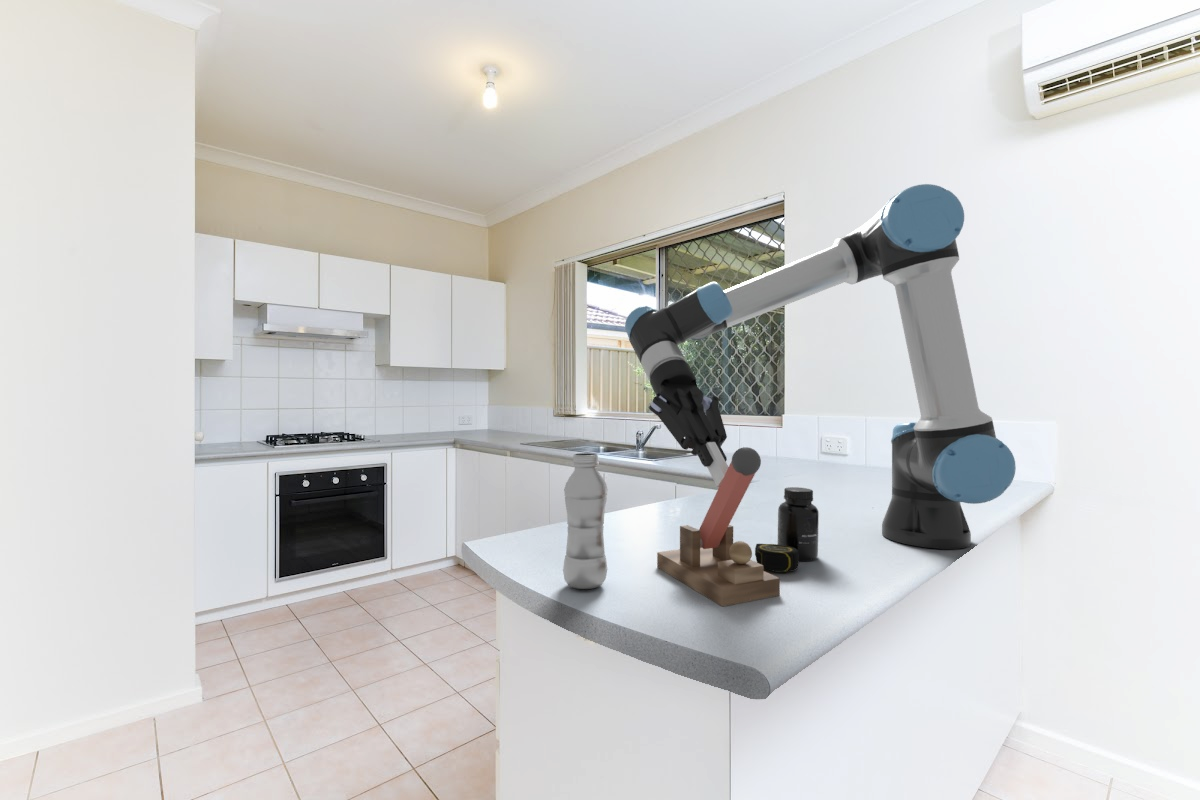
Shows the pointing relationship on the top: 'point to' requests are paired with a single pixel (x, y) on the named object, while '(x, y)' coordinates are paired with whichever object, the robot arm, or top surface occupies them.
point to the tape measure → (777, 557)
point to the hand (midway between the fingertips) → (724, 481)
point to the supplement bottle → (799, 522)
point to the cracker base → (707, 570)
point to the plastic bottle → (585, 524)
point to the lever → (729, 496)
